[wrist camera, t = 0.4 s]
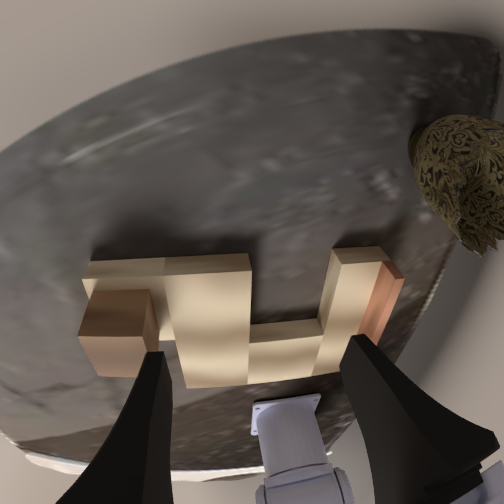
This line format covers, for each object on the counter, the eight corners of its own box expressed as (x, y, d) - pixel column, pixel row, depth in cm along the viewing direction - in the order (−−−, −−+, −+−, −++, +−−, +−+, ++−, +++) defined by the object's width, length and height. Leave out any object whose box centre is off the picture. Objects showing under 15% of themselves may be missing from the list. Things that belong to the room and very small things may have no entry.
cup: (359, 147, 18) (439, 202, 11) (428, 73, 15) (522, 98, 8) (415, 213, 21) (480, 277, 14) (471, 149, 18) (547, 194, 12)
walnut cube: (159, 331, 21) (156, 377, 18) (108, 332, 21) (98, 375, 17) (149, 289, 19) (142, 336, 16) (92, 290, 18) (77, 336, 15)
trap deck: (342, 354, 29) (356, 385, 26) (131, 371, 27) (127, 406, 23) (379, 245, 22) (404, 278, 19) (90, 261, 19) (73, 300, 16)
